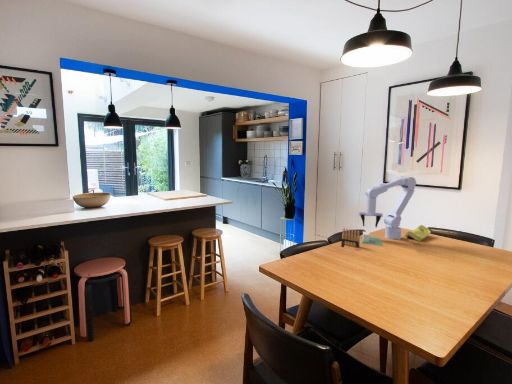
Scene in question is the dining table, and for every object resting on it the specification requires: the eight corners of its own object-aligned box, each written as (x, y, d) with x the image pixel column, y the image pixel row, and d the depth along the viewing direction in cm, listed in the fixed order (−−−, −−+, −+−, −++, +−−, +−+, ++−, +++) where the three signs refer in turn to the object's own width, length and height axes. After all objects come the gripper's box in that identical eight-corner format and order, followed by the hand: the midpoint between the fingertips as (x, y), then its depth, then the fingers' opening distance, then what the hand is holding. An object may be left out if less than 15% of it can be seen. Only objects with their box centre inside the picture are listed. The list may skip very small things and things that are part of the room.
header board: (379, 240, 194) (380, 234, 194) (382, 248, 177) (383, 242, 177) (360, 238, 198) (361, 232, 197) (361, 246, 181) (362, 239, 180)
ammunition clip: (341, 246, 180) (342, 227, 178) (342, 245, 181) (343, 227, 180) (358, 250, 174) (359, 230, 172) (359, 249, 175) (360, 229, 173)
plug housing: (368, 239, 190) (368, 232, 189) (369, 242, 183) (369, 234, 183) (362, 238, 191) (363, 231, 191) (363, 241, 185) (363, 234, 184)
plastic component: (421, 238, 191) (407, 229, 197) (415, 247, 194) (402, 237, 200) (433, 231, 203) (419, 223, 209) (427, 239, 207) (414, 231, 213)
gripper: (359, 206, 189) (358, 227, 191) (383, 208, 185) (382, 228, 187) (359, 205, 196) (358, 224, 198) (382, 206, 192) (381, 226, 193)
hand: (369, 226), depth 193 cm, fingers open, 7 cm apart
